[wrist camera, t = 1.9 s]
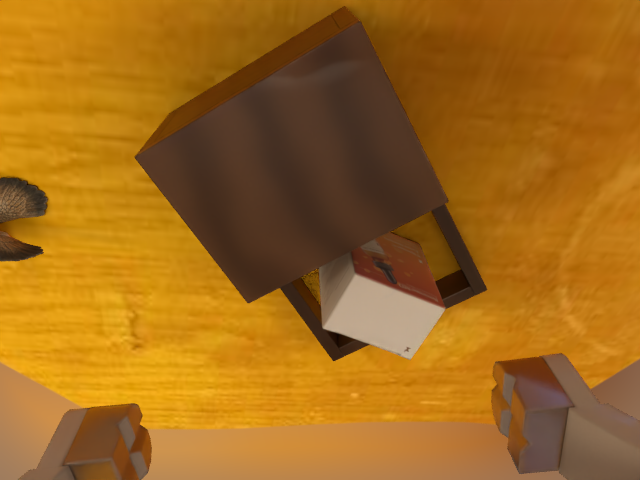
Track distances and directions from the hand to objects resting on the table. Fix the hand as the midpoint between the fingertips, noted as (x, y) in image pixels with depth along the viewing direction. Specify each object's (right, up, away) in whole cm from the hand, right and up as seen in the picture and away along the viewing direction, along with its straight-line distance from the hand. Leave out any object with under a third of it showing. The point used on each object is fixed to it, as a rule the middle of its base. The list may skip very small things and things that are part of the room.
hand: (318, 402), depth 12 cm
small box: (+4, +3, +37) cm, 38 cm away
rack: (+2, +7, +34) cm, 35 cm away
